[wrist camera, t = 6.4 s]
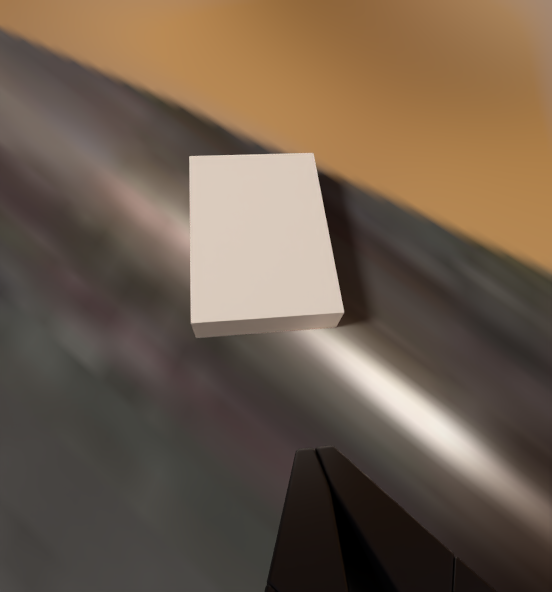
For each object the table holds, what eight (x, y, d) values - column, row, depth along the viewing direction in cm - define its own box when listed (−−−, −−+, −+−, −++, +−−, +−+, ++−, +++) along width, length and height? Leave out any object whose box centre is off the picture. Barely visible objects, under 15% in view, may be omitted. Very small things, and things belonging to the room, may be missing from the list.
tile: (344, 312, 18) (313, 153, 22) (190, 323, 17) (189, 156, 22) (334, 330, 20) (307, 181, 24) (197, 340, 19) (194, 184, 24)
